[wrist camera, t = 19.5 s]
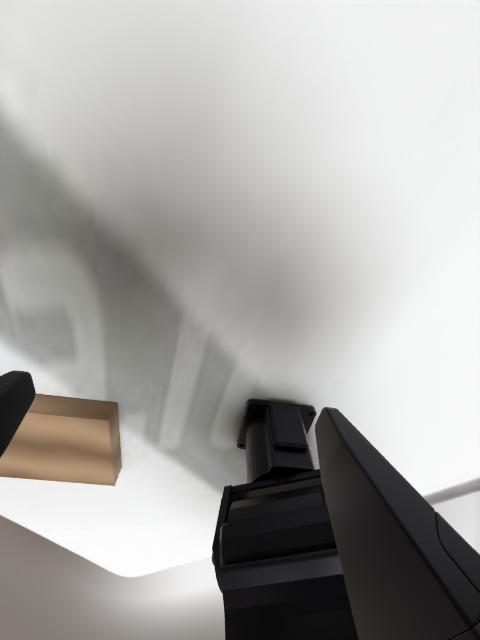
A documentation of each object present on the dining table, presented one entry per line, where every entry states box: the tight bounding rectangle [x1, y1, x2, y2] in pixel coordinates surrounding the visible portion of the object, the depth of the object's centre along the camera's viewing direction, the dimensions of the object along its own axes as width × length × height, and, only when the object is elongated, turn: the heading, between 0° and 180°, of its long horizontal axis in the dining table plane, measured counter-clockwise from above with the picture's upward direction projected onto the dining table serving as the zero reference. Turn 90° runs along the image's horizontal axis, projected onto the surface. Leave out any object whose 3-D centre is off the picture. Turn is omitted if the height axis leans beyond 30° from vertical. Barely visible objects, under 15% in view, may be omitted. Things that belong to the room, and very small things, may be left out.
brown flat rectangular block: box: [0, 394, 121, 486], centre depth 26 cm, size 10×20×2 cm, turn 80°
